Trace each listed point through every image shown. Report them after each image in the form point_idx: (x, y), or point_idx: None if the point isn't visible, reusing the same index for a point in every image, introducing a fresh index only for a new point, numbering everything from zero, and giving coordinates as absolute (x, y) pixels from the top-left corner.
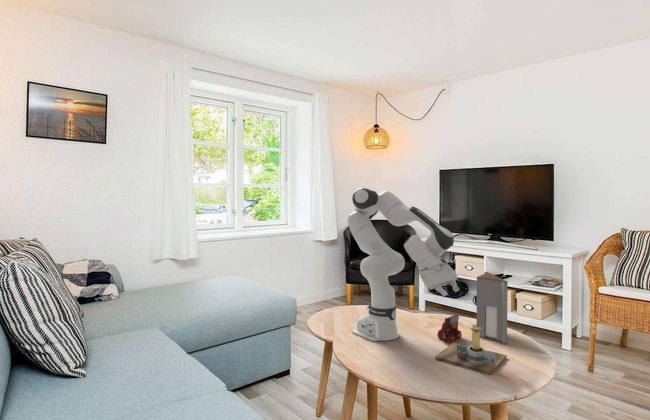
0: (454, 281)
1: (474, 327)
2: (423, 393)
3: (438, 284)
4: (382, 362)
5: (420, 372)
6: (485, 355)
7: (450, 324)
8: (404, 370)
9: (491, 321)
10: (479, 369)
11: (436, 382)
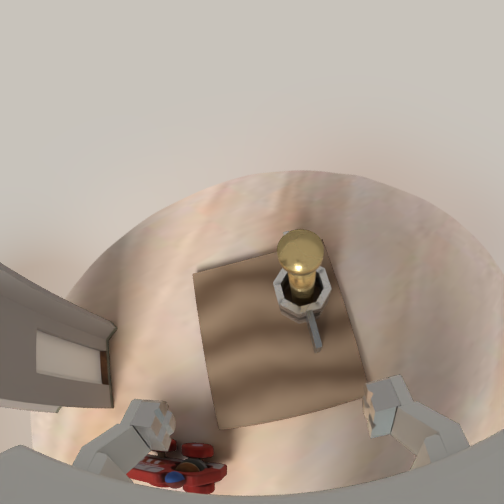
0: (88, 458)
1: (316, 245)
2: (499, 271)
3: (462, 452)
4: None
5: (457, 350)
6: None
7: (167, 468)
8: (478, 379)
9: (68, 361)
10: (331, 267)
11: (458, 290)
